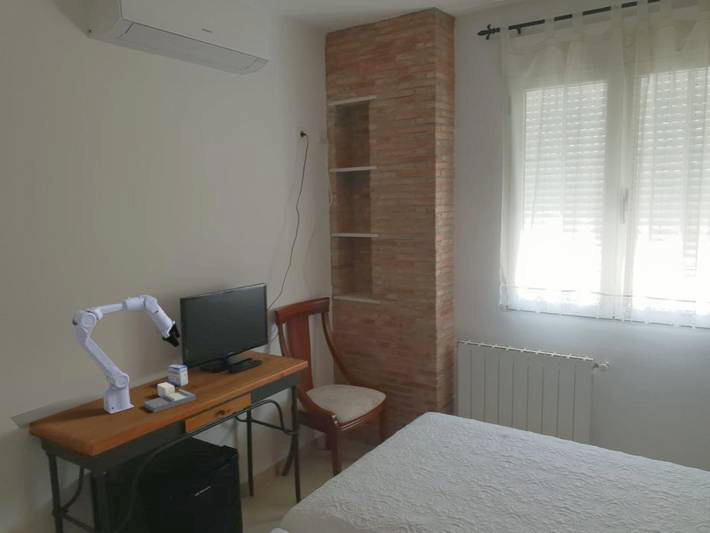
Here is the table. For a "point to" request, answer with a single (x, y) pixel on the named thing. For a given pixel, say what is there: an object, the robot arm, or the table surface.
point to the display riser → (169, 401)
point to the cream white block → (165, 389)
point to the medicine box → (177, 375)
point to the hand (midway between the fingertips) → (178, 341)
